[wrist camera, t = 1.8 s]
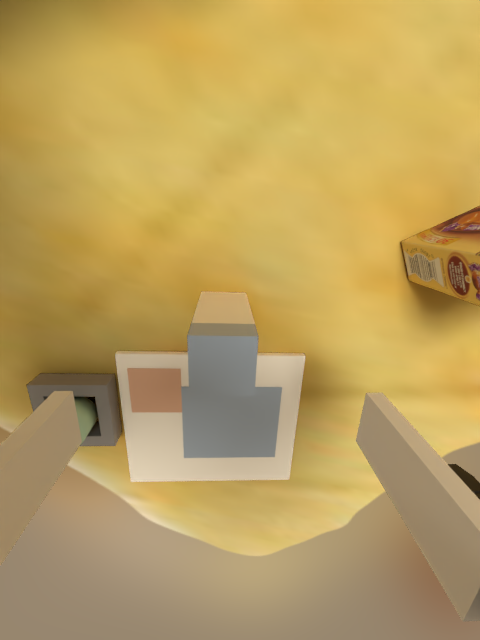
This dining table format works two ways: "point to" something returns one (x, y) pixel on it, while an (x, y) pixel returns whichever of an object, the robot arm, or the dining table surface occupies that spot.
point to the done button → (85, 415)
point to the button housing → (84, 385)
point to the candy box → (447, 257)
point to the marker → (222, 346)
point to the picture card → (207, 420)
